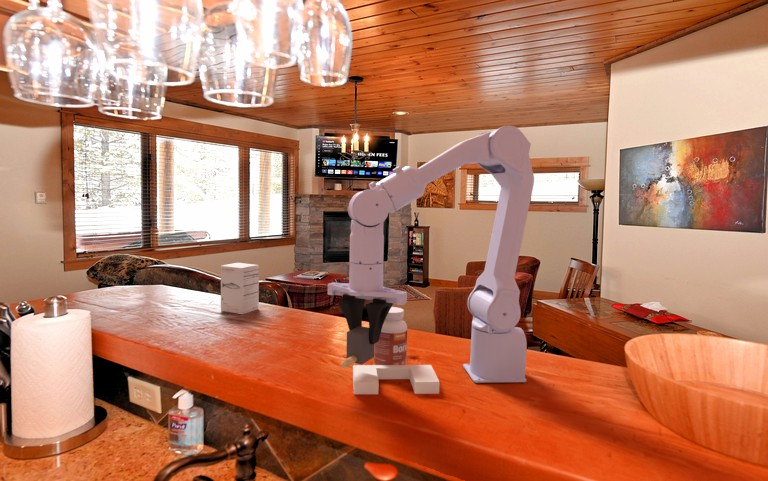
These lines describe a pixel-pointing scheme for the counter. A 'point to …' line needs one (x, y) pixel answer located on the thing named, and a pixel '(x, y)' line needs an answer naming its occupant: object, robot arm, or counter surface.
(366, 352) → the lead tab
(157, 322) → the counter surface
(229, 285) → the supplement box
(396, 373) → the notched board
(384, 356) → the pill bottle
